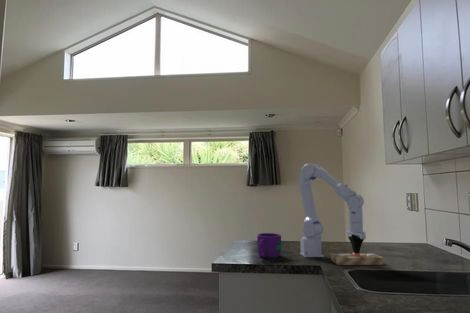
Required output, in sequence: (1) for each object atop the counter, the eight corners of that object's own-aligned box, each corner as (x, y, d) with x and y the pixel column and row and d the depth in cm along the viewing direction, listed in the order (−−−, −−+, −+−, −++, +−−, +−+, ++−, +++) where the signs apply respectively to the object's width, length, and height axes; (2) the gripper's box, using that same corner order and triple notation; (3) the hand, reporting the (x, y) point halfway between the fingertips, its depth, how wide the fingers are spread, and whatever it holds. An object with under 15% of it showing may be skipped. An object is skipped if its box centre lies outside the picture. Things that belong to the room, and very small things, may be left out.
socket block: (337, 265, 141) (337, 257, 142) (331, 260, 149) (331, 253, 150) (383, 264, 143) (382, 257, 143) (374, 260, 151) (373, 253, 151)
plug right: (368, 262, 145) (368, 255, 145) (365, 260, 148) (365, 253, 148) (376, 262, 145) (375, 255, 145) (372, 260, 148) (372, 253, 149)
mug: (263, 252, 166) (263, 232, 166) (284, 255, 160) (284, 234, 161) (247, 259, 150) (247, 237, 151) (271, 262, 145) (271, 239, 146)
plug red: (354, 261, 144) (354, 253, 145) (351, 259, 148) (351, 252, 148) (361, 261, 145) (361, 253, 145) (358, 259, 148) (358, 252, 148)
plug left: (340, 262, 144) (339, 255, 144) (337, 261, 147) (337, 253, 147) (347, 262, 144) (347, 255, 144) (344, 261, 147) (344, 253, 148)
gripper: (372, 224, 141) (373, 256, 139) (357, 220, 155) (357, 249, 154) (356, 224, 140) (356, 256, 139) (342, 220, 154) (343, 249, 153)
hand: (356, 253), depth 146 cm, fingers closed, pressing on plug red
